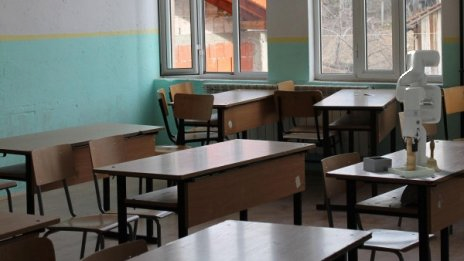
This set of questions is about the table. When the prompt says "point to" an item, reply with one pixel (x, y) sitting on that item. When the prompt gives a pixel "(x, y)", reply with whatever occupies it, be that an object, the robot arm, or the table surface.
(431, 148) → the hand bell
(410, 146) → the dowel
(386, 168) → the grey socket block
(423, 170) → the tray
